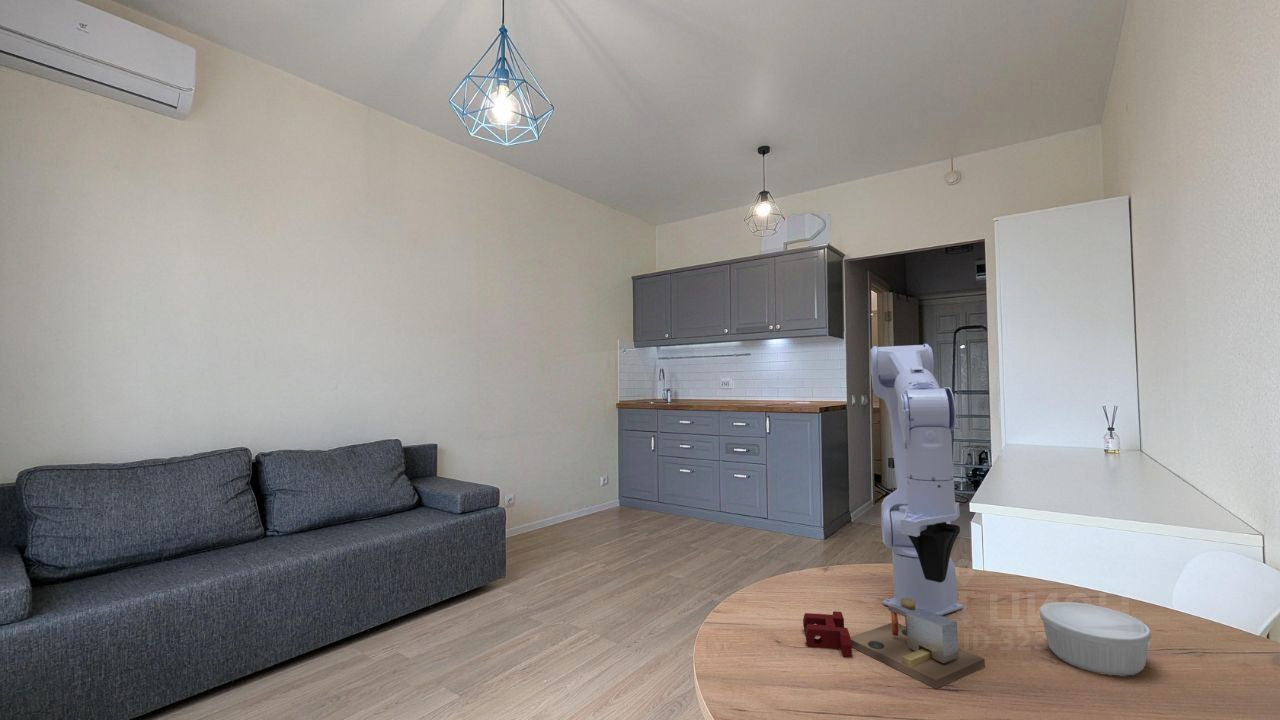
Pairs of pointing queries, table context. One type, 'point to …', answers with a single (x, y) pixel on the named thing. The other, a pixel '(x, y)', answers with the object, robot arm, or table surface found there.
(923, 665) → the board
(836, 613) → the bracket
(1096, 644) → the ramekin
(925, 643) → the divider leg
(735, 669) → the table surface
